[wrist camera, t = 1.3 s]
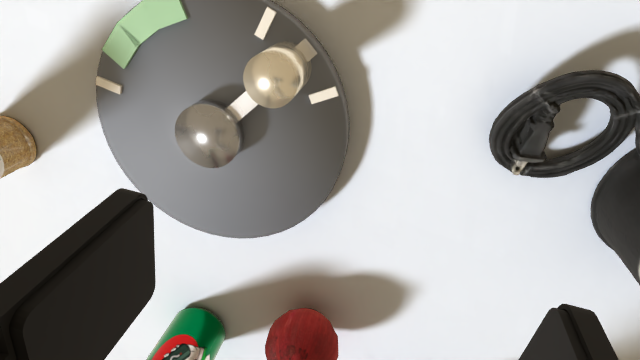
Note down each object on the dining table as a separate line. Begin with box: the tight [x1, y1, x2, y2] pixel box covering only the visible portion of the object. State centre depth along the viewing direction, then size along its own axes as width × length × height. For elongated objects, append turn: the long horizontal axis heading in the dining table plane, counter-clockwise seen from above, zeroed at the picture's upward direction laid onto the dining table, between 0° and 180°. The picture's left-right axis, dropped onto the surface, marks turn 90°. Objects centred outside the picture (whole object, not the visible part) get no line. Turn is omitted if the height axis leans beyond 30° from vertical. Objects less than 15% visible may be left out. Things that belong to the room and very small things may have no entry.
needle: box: [175, 38, 317, 168], centre depth 26 cm, size 11×4×4 cm, turn 131°
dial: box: [96, 0, 349, 238], centre depth 30 cm, size 18×18×2 cm
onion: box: [265, 308, 338, 360], centre depth 34 cm, size 6×6×8 cm
